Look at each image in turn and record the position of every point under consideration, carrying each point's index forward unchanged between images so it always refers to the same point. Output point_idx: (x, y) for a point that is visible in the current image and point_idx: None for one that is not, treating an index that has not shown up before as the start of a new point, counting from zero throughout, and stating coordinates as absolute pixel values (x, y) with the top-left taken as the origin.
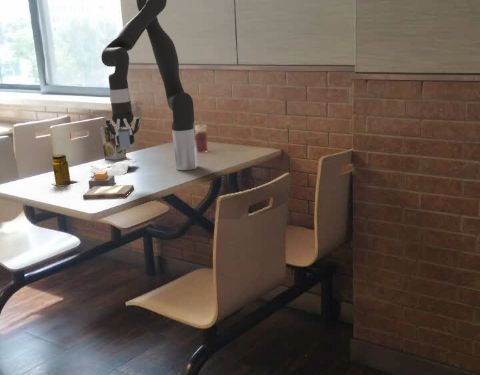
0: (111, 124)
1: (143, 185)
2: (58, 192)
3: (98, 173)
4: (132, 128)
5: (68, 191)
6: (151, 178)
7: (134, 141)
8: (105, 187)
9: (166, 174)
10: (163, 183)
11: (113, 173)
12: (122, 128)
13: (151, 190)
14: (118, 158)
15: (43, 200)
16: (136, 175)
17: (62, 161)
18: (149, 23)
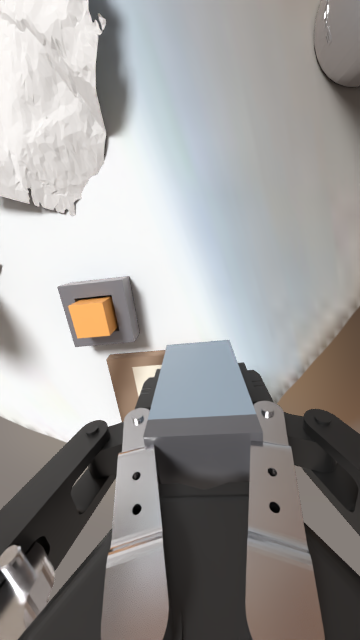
0: (37, 537)
1: (237, 313)
2: (24, 369)
3: (86, 329)
4: (287, 444)
5: (45, 362)
6: (239, 226)
7: (256, 374)
8: (148, 373)
9: (285, 161)
10: (297, 293)
11: (66, 167)
12: (171, 454)
13: (275, 362)
14: None
15: (37, 424)
16: (164, 176)
17: None
18: None
